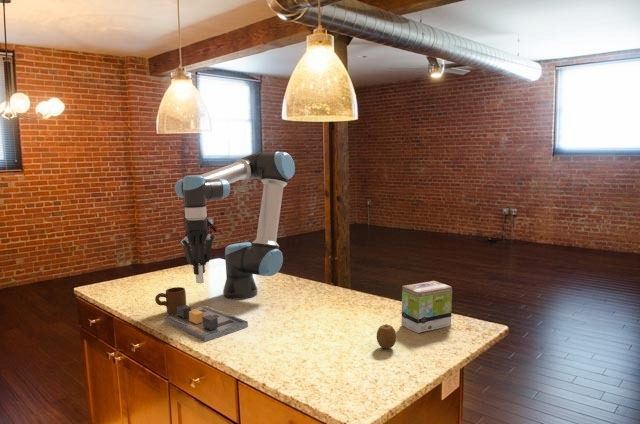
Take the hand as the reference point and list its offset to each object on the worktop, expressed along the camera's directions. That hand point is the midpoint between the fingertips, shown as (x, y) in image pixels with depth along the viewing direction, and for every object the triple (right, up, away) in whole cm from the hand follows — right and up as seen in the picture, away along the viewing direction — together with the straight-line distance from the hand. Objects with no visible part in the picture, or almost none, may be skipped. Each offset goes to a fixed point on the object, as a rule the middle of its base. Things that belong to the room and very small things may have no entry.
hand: (199, 282), depth 172 cm
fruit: (+65, -18, -22) cm, 71 cm away
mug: (-15, -15, +16) cm, 27 cm away
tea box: (+82, -15, -3) cm, 83 cm away
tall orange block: (-1, -14, 0) cm, 14 cm away
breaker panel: (+1, -16, +3) cm, 16 cm away
